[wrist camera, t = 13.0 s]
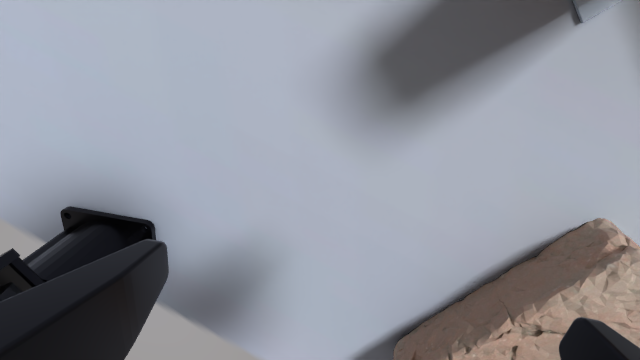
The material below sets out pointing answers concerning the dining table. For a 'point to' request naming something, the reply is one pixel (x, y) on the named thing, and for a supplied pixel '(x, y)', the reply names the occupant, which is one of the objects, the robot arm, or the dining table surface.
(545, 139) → the dining table surface
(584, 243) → the brick
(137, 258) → the robot arm
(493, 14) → the dining table surface
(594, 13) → the structure
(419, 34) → the dining table surface
